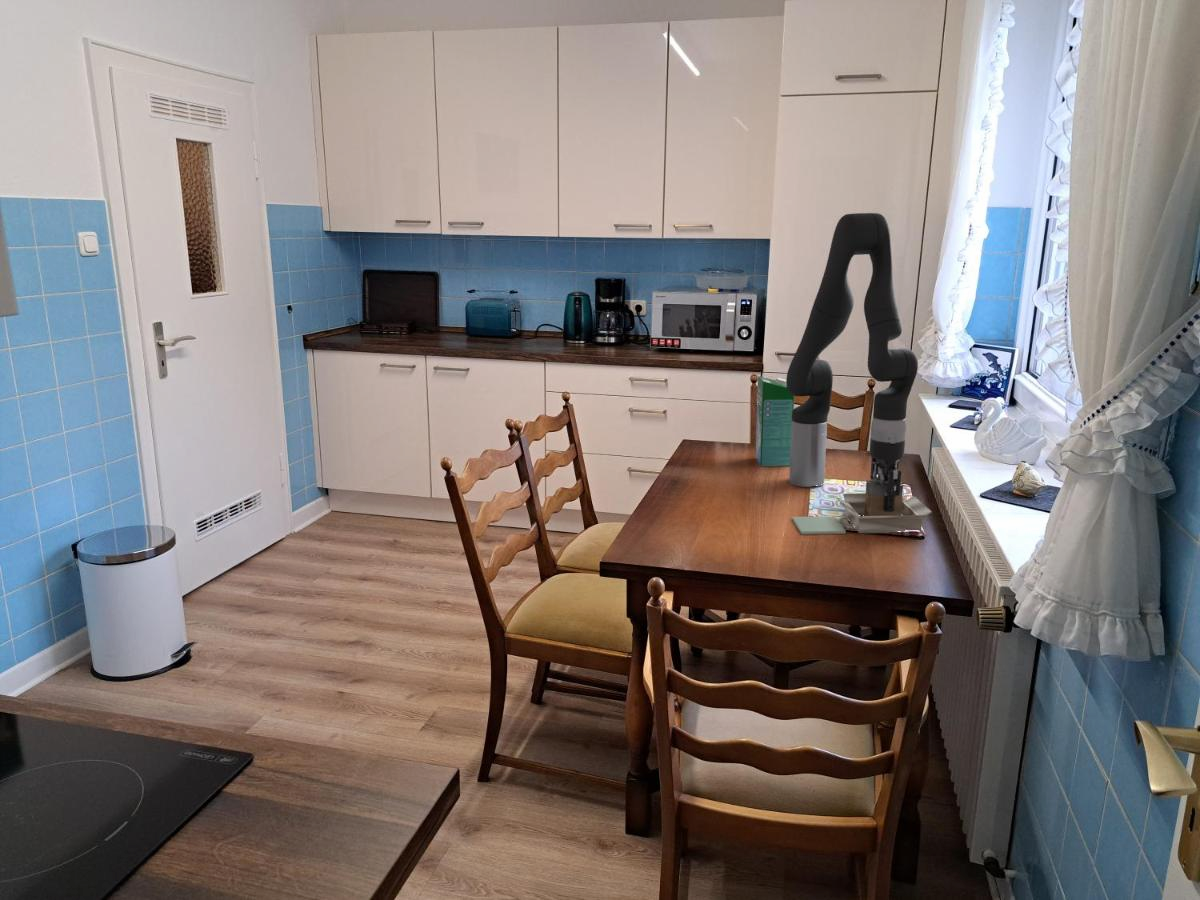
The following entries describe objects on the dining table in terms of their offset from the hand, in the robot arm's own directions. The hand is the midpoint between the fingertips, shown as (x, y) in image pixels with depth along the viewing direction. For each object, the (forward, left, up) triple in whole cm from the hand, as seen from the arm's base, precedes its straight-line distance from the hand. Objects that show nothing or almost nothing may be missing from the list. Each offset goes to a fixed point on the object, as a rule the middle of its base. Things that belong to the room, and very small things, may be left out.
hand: (883, 505), depth 198 cm
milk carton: (-54, -15, -5) cm, 56 cm away
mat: (+1, -15, -4) cm, 16 cm away
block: (0, 0, -4) cm, 4 cm away
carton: (0, 0, -4) cm, 4 cm away
